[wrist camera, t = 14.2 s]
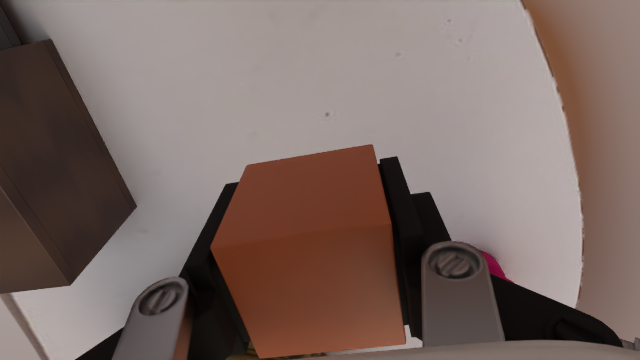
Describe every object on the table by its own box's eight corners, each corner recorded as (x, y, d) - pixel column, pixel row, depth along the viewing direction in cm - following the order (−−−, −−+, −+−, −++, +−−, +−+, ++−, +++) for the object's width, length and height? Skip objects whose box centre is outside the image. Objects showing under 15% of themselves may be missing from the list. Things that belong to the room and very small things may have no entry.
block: (245, 164, 11) (208, 247, 8) (372, 142, 11) (391, 221, 7) (277, 259, 13) (258, 359, 10) (386, 244, 13) (406, 345, 9)
